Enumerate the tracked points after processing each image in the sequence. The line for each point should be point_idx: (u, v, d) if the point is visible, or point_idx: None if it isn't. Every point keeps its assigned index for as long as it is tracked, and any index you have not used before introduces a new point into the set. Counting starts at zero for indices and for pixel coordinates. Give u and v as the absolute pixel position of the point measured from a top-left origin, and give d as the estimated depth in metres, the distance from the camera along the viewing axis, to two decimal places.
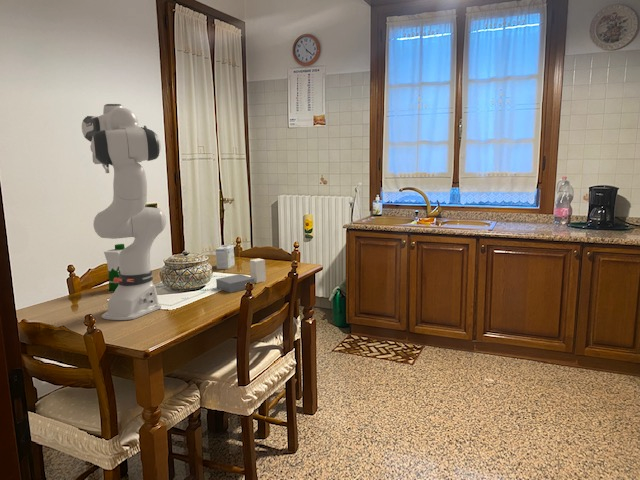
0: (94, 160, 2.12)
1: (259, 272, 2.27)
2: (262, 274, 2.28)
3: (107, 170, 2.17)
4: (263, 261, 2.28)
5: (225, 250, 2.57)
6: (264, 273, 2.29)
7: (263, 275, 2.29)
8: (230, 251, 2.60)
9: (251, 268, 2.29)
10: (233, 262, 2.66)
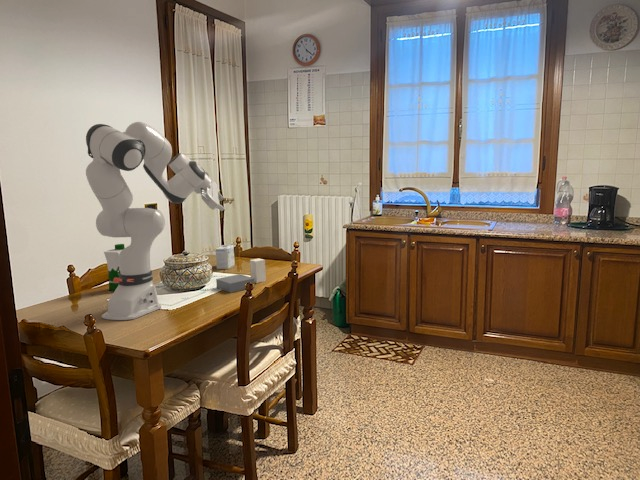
0: (216, 202, 2.12)
1: (259, 272, 2.27)
2: (262, 274, 2.28)
3: (222, 206, 2.19)
4: (263, 261, 2.28)
5: (225, 250, 2.57)
6: (264, 273, 2.29)
7: (263, 275, 2.29)
8: (230, 251, 2.60)
9: (251, 268, 2.29)
10: (233, 262, 2.66)
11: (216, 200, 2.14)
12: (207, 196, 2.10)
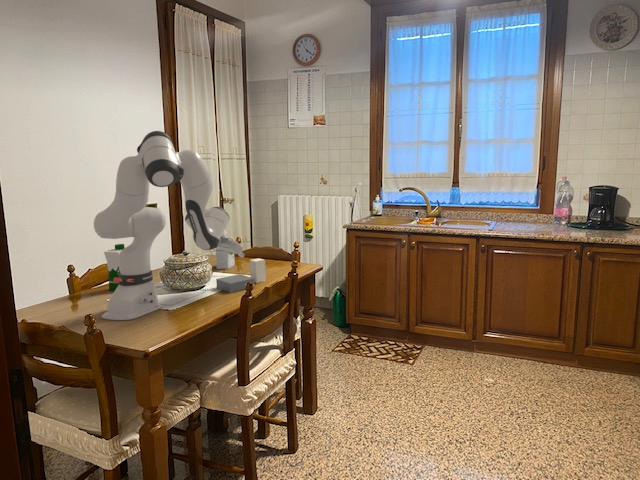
0: None
1: (259, 272, 2.27)
2: (262, 274, 2.28)
3: None
4: (263, 261, 2.28)
5: None
6: (264, 273, 2.29)
7: (263, 275, 2.29)
8: None
9: (251, 268, 2.29)
10: (233, 262, 2.66)
11: None
12: (232, 240, 2.08)
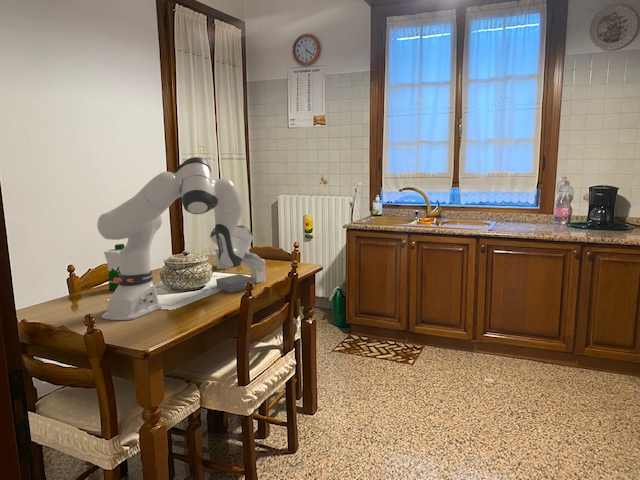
0: (263, 261, 2.20)
1: (259, 272, 2.27)
2: (262, 274, 2.28)
3: None
4: None
5: None
6: (264, 273, 2.29)
7: (263, 275, 2.29)
8: None
9: (251, 268, 2.29)
10: None
11: None
12: (255, 256, 2.17)
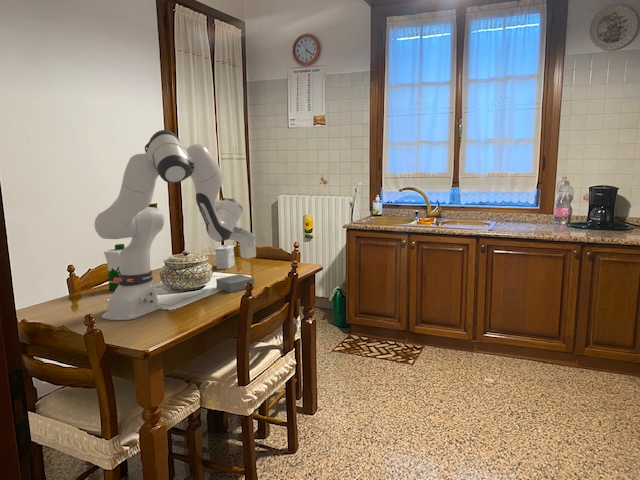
0: (253, 235, 2.16)
1: (249, 248, 2.23)
2: (252, 250, 2.25)
3: None
4: None
5: (225, 250, 2.57)
6: (254, 249, 2.25)
7: (253, 250, 2.25)
8: (230, 251, 2.60)
9: (241, 243, 2.25)
10: (233, 262, 2.66)
11: None
12: (245, 230, 2.13)
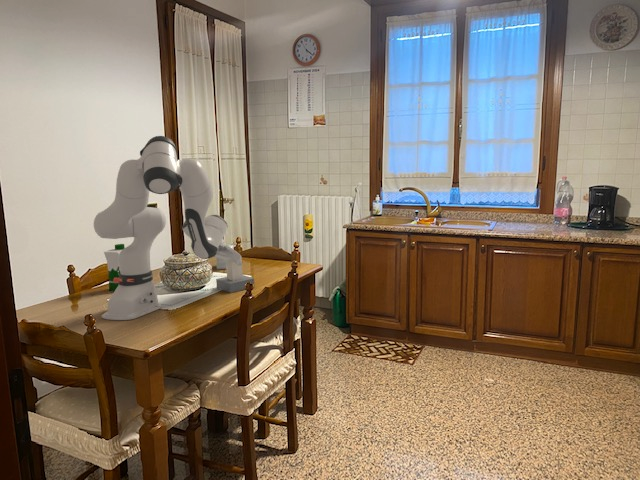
0: (239, 254, 2.09)
1: (235, 270, 2.17)
2: (238, 272, 2.18)
3: None
4: (240, 258, 2.18)
5: None
6: (241, 270, 2.19)
7: (239, 272, 2.18)
8: None
9: (227, 265, 2.18)
10: None
11: None
12: (230, 248, 2.06)
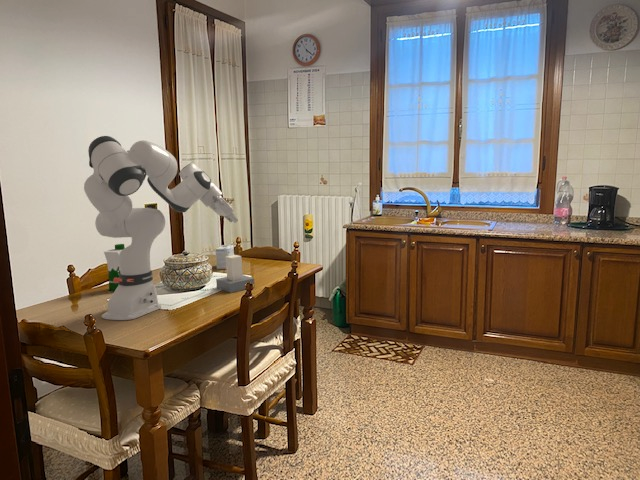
0: (231, 207, 2.03)
1: (235, 270, 2.17)
2: (238, 272, 2.18)
3: None
4: (240, 258, 2.18)
5: (225, 250, 2.57)
6: (241, 270, 2.19)
7: (239, 272, 2.18)
8: (230, 251, 2.60)
9: (227, 265, 2.18)
10: None
11: None
12: (221, 199, 2.01)
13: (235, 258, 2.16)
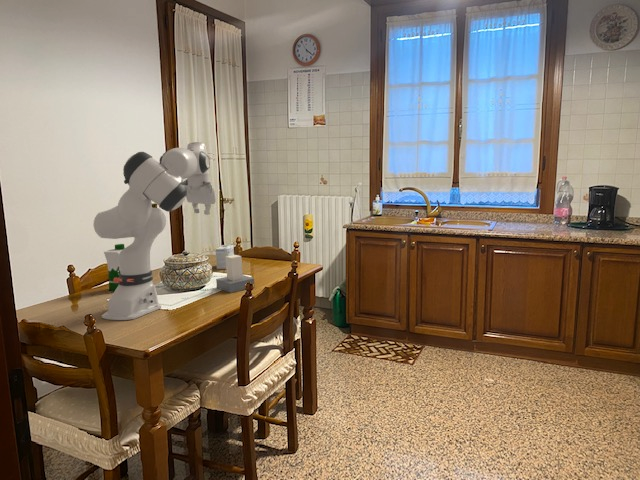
0: None
1: (235, 270, 2.17)
2: (238, 272, 2.18)
3: None
4: (240, 258, 2.18)
5: (225, 250, 2.57)
6: (241, 270, 2.19)
7: (239, 272, 2.18)
8: (230, 251, 2.60)
9: (227, 265, 2.18)
10: None
11: None
12: (212, 188, 2.07)
13: (235, 258, 2.16)
